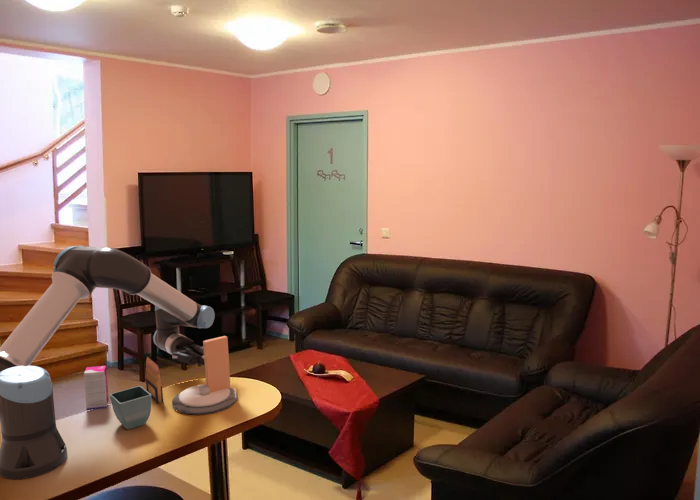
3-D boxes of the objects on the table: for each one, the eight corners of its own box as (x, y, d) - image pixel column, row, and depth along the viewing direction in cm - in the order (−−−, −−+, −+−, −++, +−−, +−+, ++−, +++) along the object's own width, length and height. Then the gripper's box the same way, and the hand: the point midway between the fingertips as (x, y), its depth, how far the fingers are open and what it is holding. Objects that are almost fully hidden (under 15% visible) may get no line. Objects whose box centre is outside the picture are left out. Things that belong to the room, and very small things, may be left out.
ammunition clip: (163, 402, 181) (160, 364, 179) (157, 404, 180) (154, 366, 178) (152, 391, 189) (149, 355, 187) (146, 393, 188) (143, 356, 186)
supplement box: (107, 408, 178) (103, 371, 176) (86, 410, 176) (82, 373, 174) (109, 400, 183) (106, 364, 181) (89, 403, 182) (85, 367, 180)
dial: (192, 411, 170) (188, 354, 167) (170, 396, 182) (166, 342, 179) (241, 396, 180) (238, 341, 177) (217, 382, 192) (214, 331, 189)
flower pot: (122, 435, 160) (119, 403, 159) (111, 424, 167) (108, 393, 166) (154, 425, 166) (152, 394, 164) (142, 414, 173) (140, 385, 171)
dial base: (158, 407, 178) (157, 394, 177) (203, 384, 194) (203, 373, 193) (206, 420, 168) (205, 406, 167) (249, 395, 184) (249, 383, 184)
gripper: (199, 352, 208) (233, 370, 190) (163, 362, 199) (195, 381, 181) (197, 332, 206) (231, 348, 188) (161, 340, 198) (193, 358, 180)
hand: (213, 364), depth 185 cm, fingers closed
